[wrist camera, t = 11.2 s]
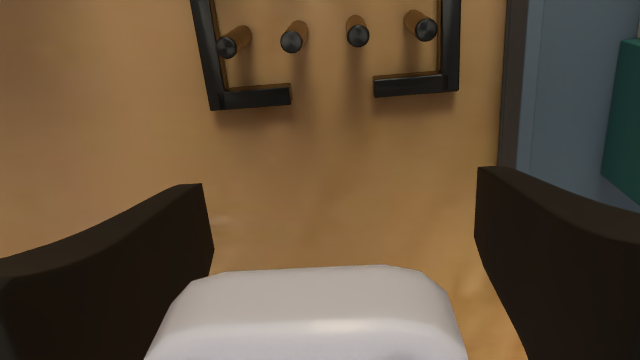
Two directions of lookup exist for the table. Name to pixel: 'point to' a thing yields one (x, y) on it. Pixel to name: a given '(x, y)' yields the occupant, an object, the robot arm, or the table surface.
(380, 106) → the table surface
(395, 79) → the rack
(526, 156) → the tray
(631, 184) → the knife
